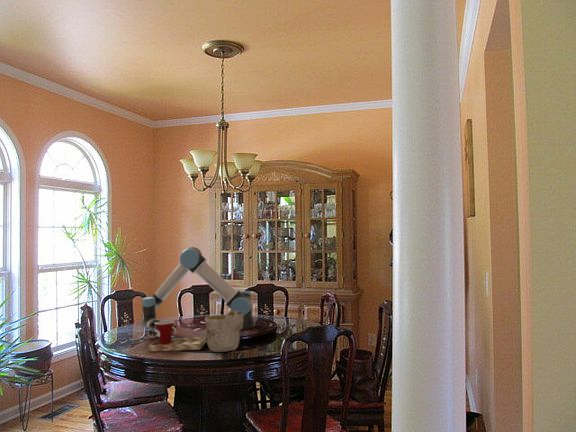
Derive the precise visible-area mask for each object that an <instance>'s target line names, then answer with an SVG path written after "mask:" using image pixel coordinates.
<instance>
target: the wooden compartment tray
mask: <svg viewBox="0 0 576 432" xmlns="http://www.w3.org/2000/svg"><path fill="white" fill-rule="evenodd" d="M206 343H207V336H197V337H196V336H194V337H171V342H170V343H168V344H160V341H159V338H156V339H155V340H153V341H152V343H150V344H149V345H148V346H147V347H148V349H147V350H148V352H165V351H166V352H167V351H169V352H170V351H192V350H193V351H194V350H201V349H202V348H203V347H204V346H205V344H206Z"/></svg>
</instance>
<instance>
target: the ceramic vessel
mask: <svg viewBox="0 0 576 432" xmlns="http://www.w3.org/2000/svg"><path fill="white" fill-rule="evenodd" d="M243 318H244V315H243V314H242V313H239V312H237V311H231V310H230V311H229V313H227V314H220V315H219V314H214V315H209V316H205V318H204V323H205V329H206V343H207V346H208V349H209V350H210V351H211V352H212V353H223V352H231V351H235V350H237V348H238V347H239V345H240V330H244V329H243V322H244V319H243Z"/></svg>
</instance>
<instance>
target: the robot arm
mask: <svg viewBox="0 0 576 432" xmlns="http://www.w3.org/2000/svg"><path fill="white" fill-rule="evenodd" d="M189 271H190V273H192V274H197V275H198V276H199V277H200V278H201V279H202V280H203V281H204V282H205V283H206V284H207V285H209V287H210V288H212V289H213V291H215V292H216V293H217V294H218V295H219V296H220V297H221V298H222V299H223V300H224V302H225V303H224V304H225V305H226V306H227V307H228V308H229V309H230V312H231V311H237V312H239V313H242V314H243V315H244V318H243V319H244V322H243V329H242V330H249V329H252V328H255V327H256V322H255V318H254V316H253V313H252V312H253V311H252V310H253V309H252V293H251V291H250V290H239V289H234V288H233V287H232V286H231V285H230V284H229V283H228V282H227V281H226V280H225V279H224V278H223V277H222V276H221V275H220V274H219V273H218V272H217V271H215V270H214V268H213V267H211V266H210V265H209V264H208V263H207V259H206V257H204V256H203V254H202V251H201V250H200V249H199V248H198V247H193V246H191V247H188V248H185V249H184V250H183V251H182V252H181V253H180V255H179V264H178V265H177V266H176V267H175V268H174V270H173V271H172V272H171V273H170V275H168V277H167V278H166V279H165V280H164V281H163V282H162V284H161V285H160V286H159V288H157V290H155V292H154V293H153V294H152V296H146V297H143V298H142V304H141V305H142V320H141V325H142V327H143V328H144V329H146V332H147V333H148V335H149V336H151V335H152V336H153V337H155V336H156V337H158V338H159V337H160V331H158V330H157V329H156V325H155V323H156V322H161V321H162V320H161V321H160V320H159V319H157V312H156V310H157V309H159V307H160V306H161V305H162V303H163V302H164V301H165V300H166V299H167V297H168V296H169V295H170V294H171V293H172V292H173V290H174V289H175V288H176V286H178V284H179V283H180V282H181V281H182V280H183V278H184V277H185V276H186V275H187V274H188V272H189ZM177 330H178V328H177V325H175V324H173V327H172V334H175V335H176V334H177Z"/></svg>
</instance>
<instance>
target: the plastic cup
mask: <svg viewBox="0 0 576 432" xmlns="http://www.w3.org/2000/svg"><path fill="white" fill-rule="evenodd" d="M174 323H175V321H173V320H161V322H156V323H155V325H156V329H157V330H158V331H160V337H158V339H159V341H160V344H168V343H170V342H171V338H172V335H173V332H172V327H173V325H174Z"/></svg>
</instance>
